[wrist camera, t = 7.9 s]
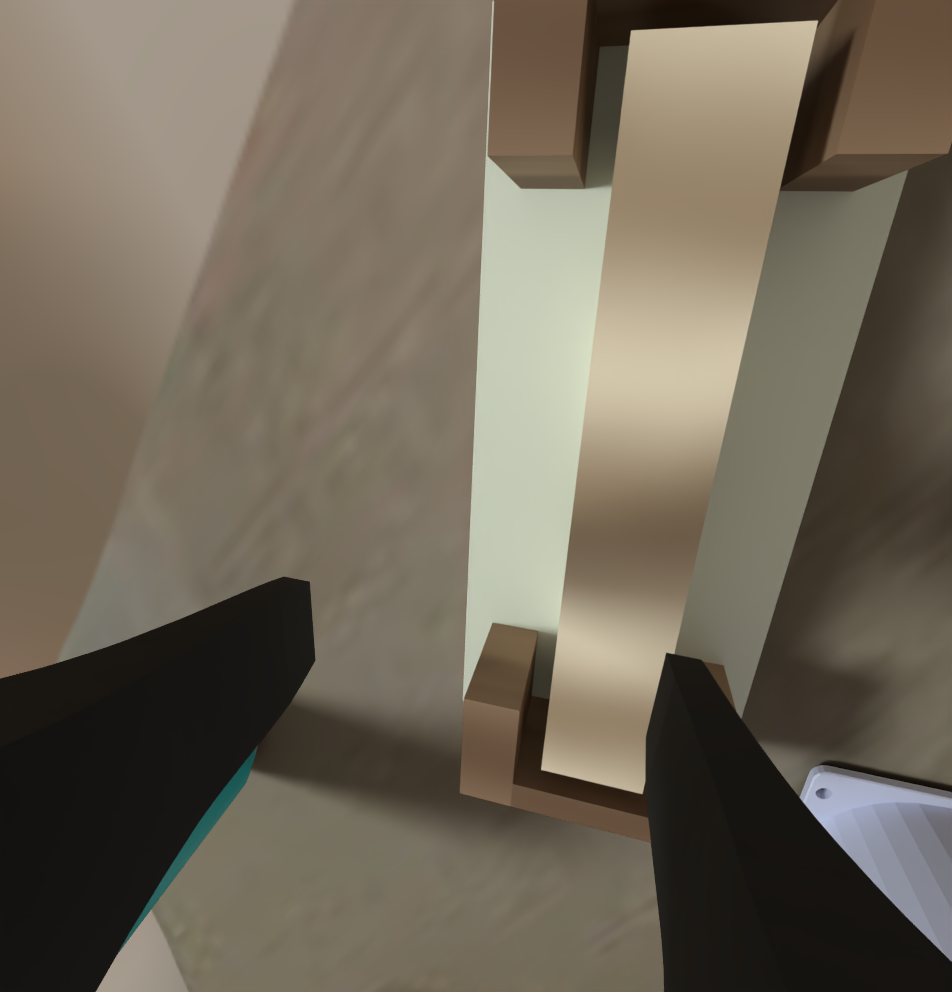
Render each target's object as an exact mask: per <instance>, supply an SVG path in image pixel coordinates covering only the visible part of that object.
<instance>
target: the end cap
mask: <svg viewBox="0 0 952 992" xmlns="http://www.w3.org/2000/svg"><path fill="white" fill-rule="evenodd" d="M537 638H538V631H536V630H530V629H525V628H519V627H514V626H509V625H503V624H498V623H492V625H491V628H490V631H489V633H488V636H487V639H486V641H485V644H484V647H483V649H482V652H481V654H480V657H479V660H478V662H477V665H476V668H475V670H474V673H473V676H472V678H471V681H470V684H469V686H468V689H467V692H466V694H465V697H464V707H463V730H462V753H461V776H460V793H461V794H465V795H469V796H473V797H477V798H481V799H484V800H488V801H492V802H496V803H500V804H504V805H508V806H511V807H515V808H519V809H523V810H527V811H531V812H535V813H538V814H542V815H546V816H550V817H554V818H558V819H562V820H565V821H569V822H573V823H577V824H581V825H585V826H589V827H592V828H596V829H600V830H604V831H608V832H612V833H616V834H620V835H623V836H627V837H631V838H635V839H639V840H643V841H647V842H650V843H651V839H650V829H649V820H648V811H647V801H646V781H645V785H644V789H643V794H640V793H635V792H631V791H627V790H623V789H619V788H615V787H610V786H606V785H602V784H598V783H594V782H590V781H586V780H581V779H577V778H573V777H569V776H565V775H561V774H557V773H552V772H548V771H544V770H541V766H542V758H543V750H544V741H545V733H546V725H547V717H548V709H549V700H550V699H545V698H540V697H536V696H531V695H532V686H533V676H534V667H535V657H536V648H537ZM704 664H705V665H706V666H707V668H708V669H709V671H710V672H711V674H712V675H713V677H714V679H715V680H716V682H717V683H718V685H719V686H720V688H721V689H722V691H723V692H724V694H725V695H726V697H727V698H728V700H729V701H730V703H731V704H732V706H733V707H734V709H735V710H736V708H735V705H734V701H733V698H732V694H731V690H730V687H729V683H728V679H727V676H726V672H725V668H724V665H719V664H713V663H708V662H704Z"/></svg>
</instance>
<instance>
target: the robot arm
mask: <svg viewBox="0 0 952 992" xmlns="http://www.w3.org/2000/svg"><path fill="white" fill-rule="evenodd" d="M314 662H315V649H314V635H313V621H312V607H311V593H310V582H308V581H303V580H298V579H293V578H288V577H282V578H279V579H276V580H273V581H270V582H267V583H265V584H262V585H260V586H257V587H255V588H252V589H250V590H248V591H245V592H243V593H240V594H238V595H236V596H233V597H231V598H229V599H226V600H224V601H222V602H219V603H217V604H215V605H212V606H210V607H208V608H205V609H203V610H201V611H198V612H196V613H194V614H191V615H189V616H186V617H184V618H182V619H179V620H177V621H174V622H172V623H169V624H166V625H164V626H161V627H159V628H156V629H154V630H151V631H148V632H146V633H143V634H141V635H138V636H136V637H133V638H131V639H128V640H125V641H123V642H120V643H117V644H114V645H111V646H109V647H106V648H103V649H100V650H97V651H94V652H91V653H88V654H85V655H82V656H78V657H75V658H72V659H69V660H66V661H63V662H59V663H56V664H53V665H49V666H46V667H43V668H39V669H35V670H32V671H28V672H24V673H20V674H16V675H12V676H9V677H5V678H1V679H0V992H96V990H97V988H98V987H99V985H100V983H101V982H102V980H103V978H104V976H105V975H106V973H107V971H108V969H109V968H110V966H111V964H112V962H113V961H114V959H115V957H116V955H117V954H118V952H119V950H120V949H121V947H122V945H123V943H124V942H125V940H126V938H127V936H128V935H129V933H130V931H131V930H132V928H133V926H134V925H135V923H136V922H137V920H138V918H139V917H140V915H141V913H142V912H143V910H144V908H145V907H146V905H147V904H148V902H149V900H150V899H151V897H152V895H153V894H154V892H155V890H156V889H157V887H158V886H159V884H160V882H161V881H162V879H163V877H164V876H165V874H166V873H167V871H168V869H169V868H170V866H171V865H172V863H173V862H174V860H175V859H176V857H177V856H178V854H179V852H180V851H181V849H182V848H183V846H184V845H185V843H186V842H187V840H188V839H189V837H190V835H191V834H192V832H193V831H194V829H195V828H196V826H197V825H198V823H199V822H200V820H201V819H202V817H203V816H204V815H205V813H206V812H207V810H208V809H209V808H210V806H211V805H212V804H213V802H214V801H215V799H216V798H217V797H218V796H219V794H220V793H221V792H222V790H223V789H224V788H225V787H226V785H227V784H228V783H229V781H230V780H231V779H232V778H233V776H234V775H235V774H236V773H237V771H238V770H239V769H240V767H241V766H242V765H243V764H244V762H245V761H246V760H247V758H248V757H249V756H250V755H251V753H252V752H253V751H254V750H255V748H256V747H257V746H258V744H259V743H260V742H261V741H262V739H263V738H264V737H265V735H266V734H267V733H268V732H269V730H270V729H271V728H272V726H273V725H274V724H275V722H276V721H277V720H278V719H279V717H280V716H281V715H282V713H283V712H284V711H285V709H286V708H287V707H288V705H289V704H290V703H291V701H292V699H293V698H294V696H295V695H296V693H297V691H298V690H299V688H300V686H301V685H302V683H303V681H304V679H305V678H306V676H307V674H308V672H309V671H310V669H311V667H312V665H313V664H314ZM645 780H646V801H647V811H648V820H649V829H650V839H651V848H652V856H653V865H654V874H655V883H656V892H657V901H658V910H659V919H660V928H661V939H662V952H663V965H664V992H952V792H949V791H944V790H940V789H935V788H930V787H926V786H921V785H916V784H912V783H907V782H902V781H898V780H893V779H888V778H884V777H879V776H874V775H870V774H865V773H860V772H856V771H851V770H847V769H842V768H837V767H833V766H827V765H820V766H816V767H814V768H813V769H812V770H811V771H810V772H809V775H808V777H807V780H806V783H805V785H804V788H803V790H802V793H801V796H800V798H799V796H798V795H797V794H796V793H795V791H794V790H793V789H792V788H791V786H790V785H789V784H788V782H787V781H786V780H785V779H784V777H783V776H782V775H781V773H780V772H779V771H778V769H777V768H776V767H775V765H774V764H773V763H772V761H771V760H770V758H769V757H768V756H767V754H766V753H765V752H764V750H763V749H762V747H761V746H760V745H759V743H758V742H757V741H756V739H755V738H754V736H753V735H752V734H751V732H750V731H749V729H748V728H747V726H746V725H745V724H744V722H743V721H742V719H741V718H740V716H739V715H738V713H737V712H736V710H735V709H734V707H733V706H732V704H731V703H730V701H729V700H728V698H727V697H726V695H725V694H724V692H723V691H722V689H721V688H720V686H719V685H718V683H717V682H716V680H715V679H714V677H713V675H712V674H711V672H710V671H709V669H708V668H707V666H706V665H705V664H704V662H703V661H702V660H701V659H696V658H691V657H686V656H681V655H676V654H671V653H666V656H665V660H664V664H663V668H662V672H661V676H660V680H659V684H658V688H657V693H656V697H655V701H654V705H653V709H652V713H651V717H650V721H649V725H648V730H647V734H646V761H645ZM821 788H826V789H823V790H818V789H821Z"/></svg>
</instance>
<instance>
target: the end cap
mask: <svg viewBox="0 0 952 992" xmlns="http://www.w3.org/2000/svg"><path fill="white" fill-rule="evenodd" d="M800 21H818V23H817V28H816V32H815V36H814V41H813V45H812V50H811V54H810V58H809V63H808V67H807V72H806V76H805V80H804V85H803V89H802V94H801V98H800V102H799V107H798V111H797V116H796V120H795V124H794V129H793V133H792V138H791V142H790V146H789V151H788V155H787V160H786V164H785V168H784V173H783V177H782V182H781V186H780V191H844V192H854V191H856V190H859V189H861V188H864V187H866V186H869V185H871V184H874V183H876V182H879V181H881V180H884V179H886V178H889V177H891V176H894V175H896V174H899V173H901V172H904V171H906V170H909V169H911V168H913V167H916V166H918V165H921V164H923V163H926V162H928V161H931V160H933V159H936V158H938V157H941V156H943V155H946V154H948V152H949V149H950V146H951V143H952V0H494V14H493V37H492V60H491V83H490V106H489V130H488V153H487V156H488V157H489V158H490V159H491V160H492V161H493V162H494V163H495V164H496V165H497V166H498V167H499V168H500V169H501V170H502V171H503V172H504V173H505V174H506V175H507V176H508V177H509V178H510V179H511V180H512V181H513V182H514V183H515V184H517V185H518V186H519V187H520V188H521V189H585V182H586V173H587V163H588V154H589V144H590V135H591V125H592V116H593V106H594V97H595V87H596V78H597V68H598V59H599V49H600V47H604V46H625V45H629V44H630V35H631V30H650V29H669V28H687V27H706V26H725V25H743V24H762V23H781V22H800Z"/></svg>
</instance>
